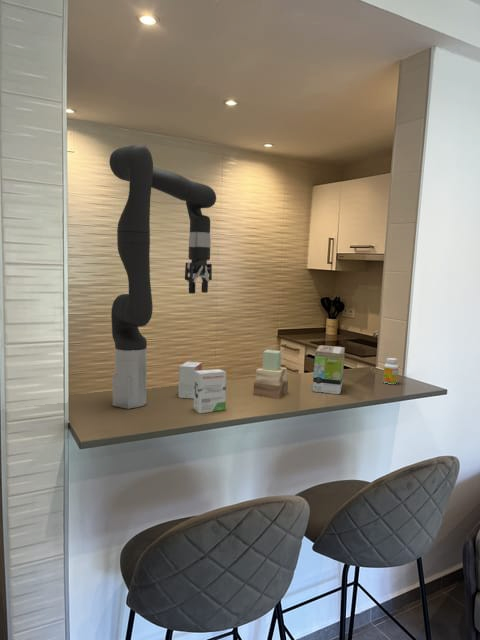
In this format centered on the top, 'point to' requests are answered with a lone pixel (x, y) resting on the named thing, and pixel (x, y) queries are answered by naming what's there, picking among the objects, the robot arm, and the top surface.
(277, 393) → the walnut block
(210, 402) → the ink box
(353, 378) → the top surface
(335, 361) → the tea box
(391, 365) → the supplement bottle
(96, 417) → the top surface
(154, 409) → the top surface
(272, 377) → the maple block
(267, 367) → the sage block
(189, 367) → the small box
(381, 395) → the top surface
